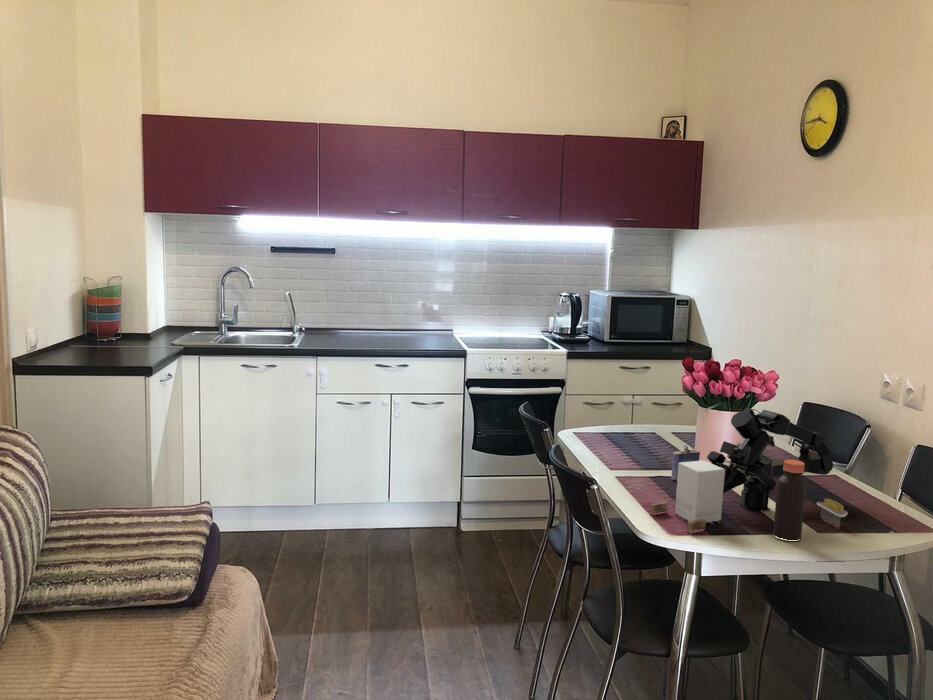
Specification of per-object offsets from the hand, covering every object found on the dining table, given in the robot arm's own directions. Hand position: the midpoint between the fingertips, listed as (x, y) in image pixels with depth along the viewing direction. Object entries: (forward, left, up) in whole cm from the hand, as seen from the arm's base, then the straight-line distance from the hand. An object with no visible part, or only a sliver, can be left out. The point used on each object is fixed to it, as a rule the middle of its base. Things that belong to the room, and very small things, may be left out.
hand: (720, 492), depth 219 cm
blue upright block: (-1, -31, -7) cm, 31 cm away
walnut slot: (+14, +7, -6) cm, 17 cm away
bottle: (-12, +16, -6) cm, 21 cm away
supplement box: (+7, +4, -6) cm, 10 cm away
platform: (-29, +7, -7) cm, 30 cm away
